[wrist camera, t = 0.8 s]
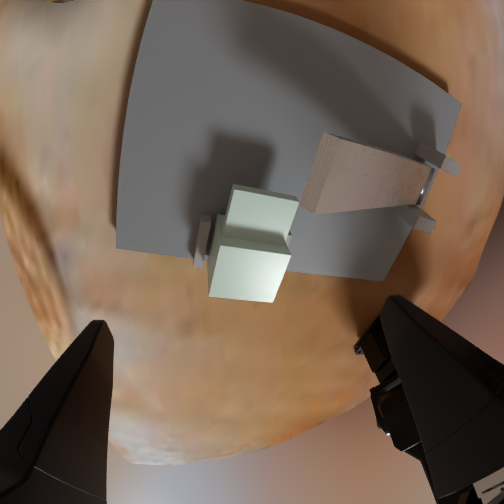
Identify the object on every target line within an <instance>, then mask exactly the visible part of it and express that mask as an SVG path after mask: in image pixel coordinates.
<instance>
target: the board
mask: <svg viewBox="0 0 504 504" xmlns="http://www.w3.org/2000/svg"><path fill="white" fill-rule="evenodd" d="M461 105H462V104H461V103H460V102H459V101H458V100H456V99H455V98H454V97H452V96H451V95H450V94H448V93H447V92H446V91H444V90H443V89H441V88H440V87H439V86H437V85H436V84H434V83H433V82H431V81H430V80H428V79H427V78H425V77H424V76H422V75H421V74H419V73H418V72H416V71H414V70H413V69H411V68H410V67H408V66H406V65H405V64H403V63H401V62H399V61H398V60H396V59H394V58H392V57H391V56H389V55H387V54H385V53H383V52H381V51H380V50H378V49H376V48H374V47H372V46H370V45H368V44H366V43H364V42H362V41H360V40H358V39H355V38H353V37H351V36H349V35H347V34H344V33H342V32H340V31H337V30H335V29H333V28H330V27H328V26H325V25H323V24H320V23H317V22H315V21H312V20H309V19H307V18H304V17H301V16H298V15H295V14H292V13H289V12H286V11H282V10H279V9H275V8H272V7H268V6H265V5H261V4H257V3H253V2H249V1H244V0H153V2H152V5H151V8H150V11H149V15H148V18H147V21H146V25H145V28H144V32H143V36H142V39H141V43H140V47H139V51H138V55H137V60H136V64H135V69H134V73H133V78H132V83H131V88H130V94H129V99H128V105H127V111H126V118H125V125H124V132H123V140H122V148H121V158H120V168H119V180H118V195H117V218H116V248H118V249H125V250H132V251H139V252H147V253H154V254H161V255H169V256H176V257H183V258H191V259H193V268H201V269H202V266H203V261H204V260H206V261H207V260H208V255H209V250H210V246H211V241H212V236H213V232H214V227H215V223H216V218H217V214H219V215H226V210H227V206H228V202H229V198H230V194H231V190H232V186H233V184H236V185H242V186H247V187H253V188H258V189H263V190H268V191H273V192H278V193H283V194H287V195H292V196H296V198H297V199H298V201H299V203H300V200H301V197H302V194H303V191H304V188H305V185H306V182H307V180H308V177H309V174H310V171H311V168H312V165H313V162H314V159H315V156H316V153H317V150H318V147H319V144H320V141H321V138H322V135H323V132H326V133H330V134H334V135H338V136H342V137H345V138H349V139H353V140H356V141H360V142H363V143H366V144H370V145H373V146H376V147H379V148H382V149H385V150H388V151H391V152H394V153H397V154H400V155H403V156H406V157H409V158H411V159H414V160H417V161H420V162H423V163H425V164H427V165H429V166H431V167H432V168H434V169H436V170H435V172H434V175H433V177H432V179H431V182H430V184H429V187H428V189H427V191H426V193H425V196H424V198H423V200H422V202H421V204H420V206H419V205H416V204H414V205H403V206H392V207H382V208H372V209H362V210H353V211H344V212H335V213H326V214H317V215H313V214H311V213H310V212H309V211H307V210H306V209H304V208H303V207H301V206H300V205H298V207H297V210H296V213H295V216H294V219H293V222H292V224H291V227H290V230H289V233H288V235H287V238H286V241H285V242H286V244H287V246H288V249H289V251H290V253H291V258H290V260H289V263H288V265H287V268H286V271H294V272H302V273H311V274H319V275H328V276H337V277H345V278H354V279H363V280H372V281H381V282H383V281H384V279H385V277H386V276H387V274H388V272H389V270H390V269H391V267H392V265H393V263H394V261H395V260H396V258H397V256H398V254H399V252H400V250H401V248H402V246H403V245H404V243H405V241H406V239H407V237H408V235H409V233H410V231H411V229H412V228H413V229H415V230H419V231H423V232H426V233H429V234H431V233H432V231H433V229H434V227H435V225H436V223H437V222H436V221H435V220H434V219H433V218H431V217H430V216H429V215H428V214H427V213H426V212H424V211H423V210H422V209H421V208H422V206H423V204H424V202H425V200H426V197H427V195H428V193H429V191H430V188H431V186H432V184H433V181H434V179H435V177H436V174H437V172H438V169H439V168H440V169H442V170H444V171H446V172H448V173H449V174H451V175H453V176H455V177H458V174H459V172H460V169H461V167H462V165H461V164H460V163H458V162H456V161H455V160H453V159H451V158H450V157H448V156H446V155H445V152H446V149H447V146H448V143H449V141H450V138H451V135H452V132H453V129H454V126H455V123H456V120H457V117H458V114H459V111H460V108H461Z"/></svg>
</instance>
